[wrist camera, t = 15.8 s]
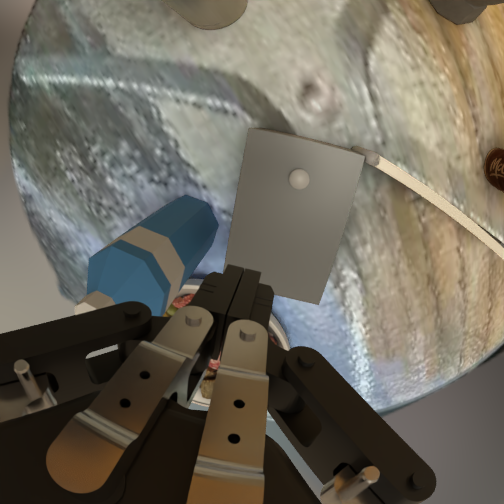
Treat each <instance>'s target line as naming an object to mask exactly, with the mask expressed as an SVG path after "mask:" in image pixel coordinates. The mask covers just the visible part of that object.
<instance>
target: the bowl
mask: <svg viewBox="0 0 504 504" xmlns="http://www.w3.org/2000/svg"><path fill="white" fill-rule="evenodd" d="M203 280H204V279H188V280H187V281H186V283H185V284H184V286H183V287H182V289H181V290H180V291H179V293H178V294H177V296H176V297H175V299H174V300H173V302H172V303H171V305H170V306H169V307H168V309H167V310H166V312H165V313H164V315H163V316H162V317H170V316H173V315H174V313H175V312H176V311H177V310H178V309H180V308H182V307H185V306H188V305H189V303H190V302H191V300H192V298H193V297H194V295H195V293H196V292H197V290H198V289H199V287H200V285H201V284H202V282H203ZM268 335H269V337H270V339H271V340H272V341H273V342H274V343H275V344H276V345H277V346H279V347H281V348H283V349H285V350H287V351H289V350H290V346H289V342H288V339H287V336H286V334H285V332H284V330H283V328H282V327H281V325H280V323H279V322H278V321H277V319H276V318H275V317H274V316H273V314H272V313H271V315H270V321H269V326H268ZM220 353H221V352H220ZM219 359H220V355H219V358H218V360H213V359H211V360H210V363H209V366H208V367H207V370H206V374H205V376H204V378H203V380H202V382H201V384H200V386H199V388H198V390H197V392H196V394H195V396H194V398H193V400H192V403H195V404H199V405H202V406H206V407H209V405H210V401H211V397H212V392H213V388H214V384H215V379H216V375H217V371H218V367H219V365H220V361H219Z"/></svg>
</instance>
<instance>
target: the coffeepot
mask: <svg viewBox="0 0 504 504" xmlns="http://www.w3.org/2000/svg"><path fill="white" fill-rule="evenodd" d="M429 1H430V3H431V4H432V6H433V7H434V8H435V9H436V11H437V12H438V13H439V14H440V15H442V16H443V17H445V18H446V19H448V20H450V21H451V22H454V23H456V24H457V25H459V24H465V23H471V22H473V21H474V20H475V19H476V18H477V17H478V16H479V15H480V14H481V13H482V12H483V11H484V10H485V9H486V7H487V5H495V4H500V3H504V0H429Z"/></svg>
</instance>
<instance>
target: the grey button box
mask: <svg viewBox="0 0 504 504" xmlns="http://www.w3.org/2000/svg"><path fill="white" fill-rule="evenodd" d="M364 159H365V156H364V155H361V154H359V153H357V152H355V151H353V150H350V149H347V148H344V147H340V146H337V145H333V144H329V143H326V142H322V141H318V140H314V139H310V138H306V137H302V136H297V135H293V134H289V133H284V132H279V131H275V130H270V129H265V128H249V130H248V135H247V141H246V146H245V151H244V156H243V162H242V167H241V172H240V178H239V183H238V189H237V194H236V200H235V206H234V211H233V217H232V223H231V228H230V234H229V240H228V246H227V252H226V258H225V264H224V270H223V273H224V271H225V269H226V267H227V265H228V264H231V265H235V266H239V267H243V268H244V271H245V268H247V269H251V270H256V271H260V272H262V273H261V277H260V282H259V283H262V284H266V285H270V286H271V287H272V289H273V291H274V295H278V296H282V297H286V298H291V299H295V300H299V301H304V302H308V303H312V304H317V305H319V303H320V300H321V297H322V295H323V292H324V289H325V286H326V283H327V281H328V278H329V275H330V272H331V269H332V266H333V263H334V260H335V257H336V254H337V251H338V248H339V245H340V242H341V239H342V236H343V233H344V229H345V226H346V223H347V220H348V216H349V213H350V210H351V206H352V203H353V199H354V196H355V192H356V189H357V185H358V182H359V178H360V174H361V170H362V167H363V163H364Z"/></svg>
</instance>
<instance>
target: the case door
mask: <svg viewBox="0 0 504 504" xmlns="http://www.w3.org/2000/svg"><path fill="white" fill-rule="evenodd" d="M351 150H353V151H355V152H357V153H359V154H361V155H364V156H365V159H364V161H365V162H366V163H368V164H370V165H372V166H374V167H376V168H378V169H379V170H381V171H383V172H384V173H386V174H388V175H389V176H391V177H393V178H394V179H396V180H397V181H399V182H401V183H402V184H404V185H405V186H407V187H408V188H410V189H411V190H413V191H414V192H416V193H417V194H419V195H420V196H422V197H423V198H425V199H426V200H428V201H429V202H431V203H432V204H433V205H435V206H436V207H438V208H439V209H440V210H442V211H443V212H445V213H446V214H447V215H449V216H450V217H451V218H453V219H454V220H455V221H457V222H458V223H459V224H461V225H462V226H463V227H465V228H466V229H467V230H468V231H470V232H471V233H472V234H473V235H475V236H476V237H477V238H478V239H480V240H481V241H482V242H483V243H484V244H486V245H487V246H488V247H489V248H490V249H492V250H493V251H494V252H495V253H496V254H498V255H499V256H500V257H501V258H502V259H503V260H504V244H503V243H502V242H501V241H500V240H498V239H497V238H496V237H494V236H493V235H492V234H490V233H489V232H488V231H486V230H485V229H483V228H482V227H481V226H479V225H477V224H476V223H474V222H473V221H472V220H471V219H470V218H468V217H467V216H466V215H465V214H463V213H462V212H461V211H459V210H458V209H457V208H456V207H454V206H453V205H452V204H450V203H449V202H448V201H446V200H445V199H444V198H442V197H441V196H440V195H438V194H437V193H435V192H434V191H433V190H431V189H430V188H428V187H427V186H426V185H424V184H423V183H421V182H420V181H418V180H417V179H415V178H414V177H412V176H411V175H409V174H408V173H406V172H405V171H403V170H402V169H400V168H399V167H397V166H395V165H394V164H392V163H391V162H389V161H387V160H386V159H384V158H382V157H381V156H380V155H379V154H378V153H375V152H373V151H370V150H367V149H364V148H361V147H358V146H354V147H353V148H352V149H351Z"/></svg>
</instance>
